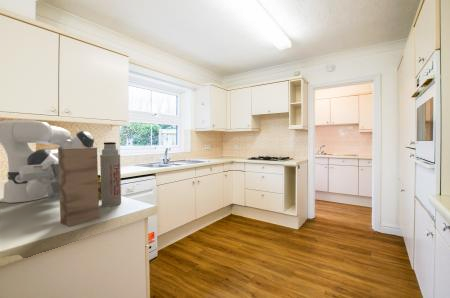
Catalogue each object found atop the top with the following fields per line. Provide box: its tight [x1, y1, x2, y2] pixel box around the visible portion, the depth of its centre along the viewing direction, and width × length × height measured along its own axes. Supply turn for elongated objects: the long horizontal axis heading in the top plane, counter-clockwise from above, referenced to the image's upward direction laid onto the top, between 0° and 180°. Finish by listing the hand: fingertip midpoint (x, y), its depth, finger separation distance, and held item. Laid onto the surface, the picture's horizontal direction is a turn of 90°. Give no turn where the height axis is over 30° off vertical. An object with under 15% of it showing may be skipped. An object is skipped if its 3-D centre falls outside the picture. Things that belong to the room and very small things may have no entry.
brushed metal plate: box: [46, 164, 60, 199], centre depth 86 cm, size 13×10×5 cm
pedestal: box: [57, 147, 100, 227], centre depth 79 cm, size 6×10×26 cm, turn 147°
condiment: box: [98, 174, 101, 201], centre depth 107 cm, size 7×8×12 cm
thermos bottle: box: [99, 141, 122, 207], centre depth 100 cm, size 8×8×28 cm
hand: (58, 161), depth 87 cm, fingers open, 3 cm apart
